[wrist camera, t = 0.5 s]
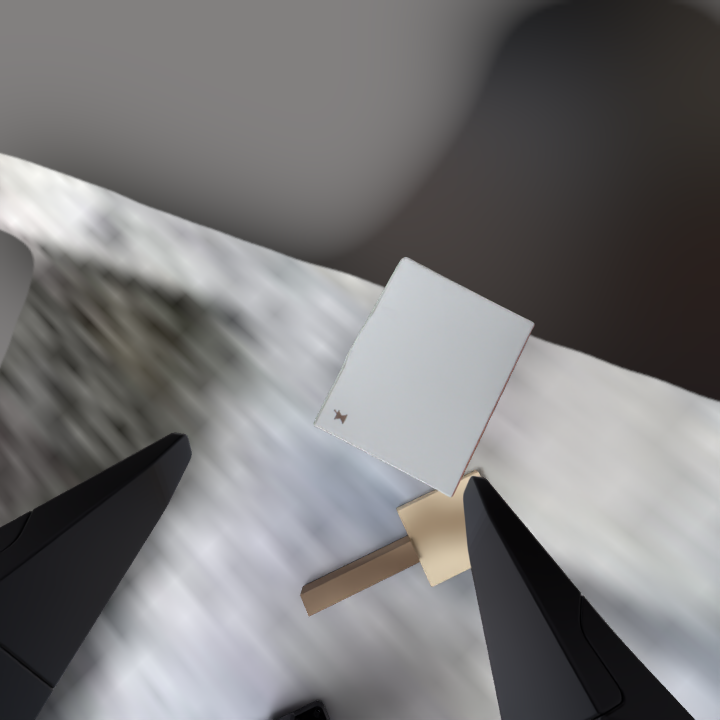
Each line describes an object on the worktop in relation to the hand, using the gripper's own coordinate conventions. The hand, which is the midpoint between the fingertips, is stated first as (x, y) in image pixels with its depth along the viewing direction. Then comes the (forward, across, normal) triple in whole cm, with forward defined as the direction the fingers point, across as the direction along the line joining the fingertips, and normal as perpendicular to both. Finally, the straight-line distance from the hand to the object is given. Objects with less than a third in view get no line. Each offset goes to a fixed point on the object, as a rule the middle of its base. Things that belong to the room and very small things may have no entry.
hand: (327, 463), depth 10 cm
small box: (+15, -3, +6) cm, 16 cm away
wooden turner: (+7, -6, +16) cm, 19 cm away
